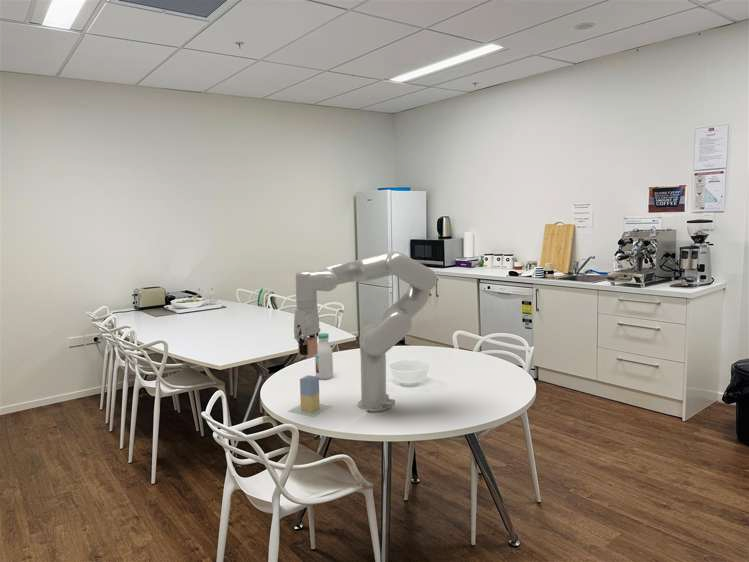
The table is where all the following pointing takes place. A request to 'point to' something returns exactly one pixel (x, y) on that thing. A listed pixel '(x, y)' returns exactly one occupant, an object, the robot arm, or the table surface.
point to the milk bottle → (324, 358)
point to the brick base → (309, 402)
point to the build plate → (312, 414)
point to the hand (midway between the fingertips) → (308, 352)
